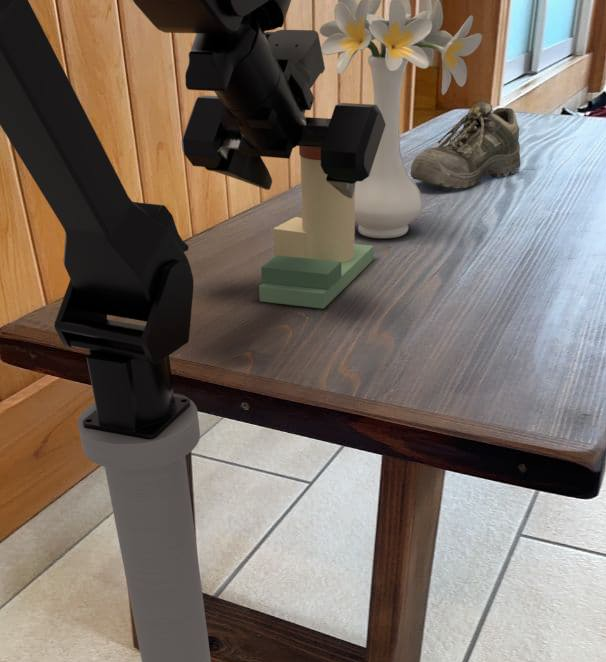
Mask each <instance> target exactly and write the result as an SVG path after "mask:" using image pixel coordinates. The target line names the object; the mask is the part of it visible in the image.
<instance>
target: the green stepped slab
mask: <svg viewBox="0 0 606 662" xmlns="http://www.w3.org/2000/svg"><path fill="white" fill-rule="evenodd" d="M374 247H375V246H374V245H369V244H360V243H359V244H358V243H354V258H353V259H351V260H349V261H347V262H343V263H341V262H338V261H328V260H318V259H308V258H298V257H288V256H278V255H277V256H275V255H274V257H272V258H271V259H269V261H267V262H266V263H265V264H263V265H262V266H261V267H260V269H261V284H260V285H258V293H259V302H263V303H271V304H280V305H289V306H297V307H305V308H313V309H322V310H324V309H325V308H327V306H328V305H329V304H330V303H332V301H333V300H334V299H335V298H337V296H338V295H340V293H341V292H342V291H344V290H345V288H347V286H349V285H350V284H351V283H352V282H353V281H354V280H355V279H356V277H358V275H360V274H361V272H363V271H364V270H365V269H366V268H367V267H368V266H369V265H370V264H371V263H372V262H373V261H374V252H375V251H374Z"/></svg>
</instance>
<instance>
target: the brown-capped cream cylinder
mask: <svg viewBox="0 0 606 662" xmlns="http://www.w3.org/2000/svg"><path fill="white" fill-rule="evenodd" d="M298 154H299V156H300V192H301V195H300V196H301V217H297V216H294V217H292V218H291V219H288V220H287V221H285V222H282V223H281V224H279V225H277V226H275V227H273V230H272V231H273V251H274V257H275V256H277V255H278V256H288V257H298V258H308V259H318V260H328V261H338V262H341V263H343V262H347V261H349V260H351V259H353V258H354V244H355V231H356V230H355V228H356V226H355V224H356V223H355V191H354V194H353V197H352V198H348V197H346V196H344V195H343V194H342V193H340V192H339V191H338V190H337V189H336V188H335V187H333V186H332V185H331V184H330V183H329V182H327V181H326V178H327V174H325V173H324V171H323V169H322V167H321V148H319V147H306V146H298Z"/></svg>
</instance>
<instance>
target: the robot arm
mask: <svg viewBox="0 0 606 662" xmlns="http://www.w3.org/2000/svg"><path fill="white" fill-rule="evenodd" d="M132 2H133V3H134V5H135V6H136V7H137V8H138V9H139V11H141V12H142V13H143V15H144V16H145V17H146V18H147V19H148V20H149V22H150V23H151V24H152V25H153V26H154V27H155V28H156V29H157V30H158V31H161V32H162V33H166V34H195V36H194V39H193V42H192V45H191V48H190V51H189V52H188V66H187V67H186V71H185V74H184V76H185V77H184V78H185V87H186V89H187V90H188V91H204V92H205V91H206V92H214V93H215V95H201V96H198V97H196V99H195V102H194V103H193V106H192V109H191V112H190V115H189V118H188V120H187V123H186V125H185V126H186V127H185V129H184V132H183V134H182V137H181V150H182V153H183V154H184V156H185V157H186V159H187V160H188V161H189V163H190V164H191V165H192V167H198V168H199V167H200V168H204V169H205V170H207V171H208V172H215V173H217V174H221V175H224V176H227V177H230V178H232V179H235V180H238V181H241V182H244V183H247V184H248V185H249V184H250V185H253V186H254V187H258V188H261V189H263V190H265V191H269V190H271V187H272V184H273V178H272V176H271V173H270V171H269V169H268V167H267V165H266V164H265V162H264V159H263V158H276V159H287V160H290V158H291V155H292V152H293V149H294V148H296V147H299V146H306V147H319V148H321V167H322V169H323V171H324V173H325V174H327V178H326V181H327V182H329V183H330V184H331V185H332V186H333V187H335V188H336V189H337V190H338V191H339V192H340V193H342V194H343V195H344V196H346V197H348V198H352V197H353V194H354V191H355V183H356V182H357V181H363V180H364V179H366V178H367V177H369V175H370V172H371V169H372V165H373V162H374V159H375V156H376V153H377V150H378V147H379V144H380V141H381V138H382V135H383V132H384V128H385V125H386V124H385V121H384V119H383V116H382V113H381V111H380V110H379V108H378V106H377V105H374V104H370V103H369V104H368V103H367V104H366V103H354V102H353V103H352V102H351V103H350V102H340V103H337V104H335V106H334V108H333V112H332V115H331V118H326V117H310V116H306V115H305V114H306V111H311V110H312V108H313V104H314V101H315V96H314V94H313V92H312V90H311V89H312V87H313V86H314V85H315V83H316V82H317V80H318V78H319V77H320V75H322V74H323V73H324V72H325V69H326V67H325V62H324V61H325V60H324V54H322V50H321V46H322V44H321V40H320V35H319V32H318V31H316V30H313V29H278V28H283V26H284V23H285V20H286V18H287V15H288V11H289V8H290V5H291V3H292V0H132ZM276 29H278V30H276ZM274 30H275V31H274ZM0 127H1V129H2V130H3V132H4V134H5V135H6V137H7V139H8V141H9V143H10V144H11V145H12V147H13V148H14V150H15V151H16V154H17V155H18V156H19V158H20V160H21V161H22V163H23V164H24V166H25V168H26V169H27V171H28V173H29V174H30V176H31V177H32V179H33V181H34V183H35V184H36V186H37V187H38V189H39V190H40V193H41V194H42V195H43V198H44V199H45V200H46V202H47V203H48V205H49V207H50V208H51V210H52V212H53V213H54V215H55V217H56V218H57V220H58V221H59V223H60V225H61V226H62V229H63V230H64V232H65V233H64V234H65V235H64V246H63V247H64V248H63V259H62V261H63V266H64V269H65V270H66V272H67V274H68V275H67V276H69V281H68V285H67V288H66V290H65V293H64V296H63V299H62V301H61V304H60V307H59V310H58V312H57V316H56V318H55V320H54V324H53V326H54V329H55V331H56V333H57V335H58V337H59V339H60V341H61V343H62V344H63V346H64V347H67V348H72V347H73V348H77V349H83V350H88V351H89V354H88V355H86V362H87V367H88V372H89V377H90V383H91V384H90V385H91V389H92V395H93V400H94V403H95V405H96V410H95V411H94V412H93V413H92V414H90V415H89V416H88V417H87V418H85V419H84V420H83V427H84V428H87V429H93V430H98V431H104V432H109V433H114V434H120V435H125V436H131V437H136V438H142V439H147V440H151V439H155V438H156V437H157V436H158V435H159V434H161V433H162V432H163V431H164V430H165V429H166V428H167V427H168V426H169V425H170V424H171V423H172V422H174V421H175V420H176V419H177V418H178V417H179V416H180V415H181V414H182V413H183V412H184V411H185V410H186V409H188V408H189V407H190V405H191V404H190V400H191V399H190V398H189V399H187V398H182V397H176V396H173V392H175V391H174V384H173V376H172V375H173V374H172V369H171V361H170V356H171V354H173V353H175V352H176V351H178V350H179V349H180V348H182V347H184V346H185V345H187V344H188V343H189V341H190V331H191V319H192V311H193V310H192V309H193V300H194V299H193V296H194V276H193V271H192V268H191V265H190V262H189V259H188V257H187V255H186V253H185V252H188V251H189V244H187V243H186V242H185V241H184V240H183V239H182V237H181V235H180V234H179V231H178V229H177V226H176V223H175V220H174V219H175V218H174V216H173V214H172V213H171V211H170V210H169V209H168V208H167V207H166V205H164V204H158V203H157V204H156V203H149V202H147V203H146V202H139V201H133V200H132V199H131V197H130V196H129V195H128V193H127V191H126V189H125V187H124V185H123V183H122V181H121V179H120V177H119V175H118V173H117V172H116V170H115V167H114V166H113V163H112V162H111V160H110V158H109V156H108V154H107V151H106V150H105V148H104V145H103V144H102V142H101V140H100V138H99V136H98V134H97V132H96V130H95V128H94V127H93V124H92V123H91V121H90V119H89V116H88V115H87V112H86V111H85V109H84V107H83V105H82V103H81V101H80V98H79V96H78V95H77V93H76V91H75V90H74V87H73V85H72V83H71V81H70V80H69V78H68V75H67V73H66V72H65V70H64V68H63V66H62V64H61V62H60V60H59V58H58V56H57V54H56V52H55V50H54V48H53V47H52V44H51V42H50V40H49V38H48V37H47V35H46V33H45V30H44V29H43V27H42V25H41V23H40V21H39V18H38V16H37V15H36V13H35V11H34V9H33V7H32V5H31V2H30V1H29V0H0ZM262 157H263V158H262ZM108 316H111V317H117V318H123V319H130V320H134V321H140V322H144V323H145V322H146V324H145V325H140V324H136V323H129V322H124V321H118V320H113V319H108Z"/></svg>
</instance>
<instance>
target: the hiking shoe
mask: <svg viewBox="0 0 606 662" xmlns="http://www.w3.org/2000/svg"><path fill="white" fill-rule="evenodd" d="M461 127H462V128H461ZM460 128H461V130H460V131H459V129H460ZM444 139H445V140H444ZM519 140H520V127H519V124H518V120H517V116H516V113H515V110H513V108H509V107H498V108H495V110H493V105H492V104H491V103H490V102H487V100H483V101H480V102H478V103H477V102H476V103H474V104H473V105H472V106H471V108H469V110H468V112H467V113H466V114H465V115H464V116H462V118H461V119H460V120H459V121H458V122H457V123H456V124H454V126H453V127H452V128H451V129H450V130H449V131H448V132H447V133H445V135H443V137H440V139H439V140H438V141H437V143H438V144H439V145H438V146H436V147H429V148H427V149H425V150H423V151H422V152H420V153H419V154H418V155H416V156H415V158H414V159H413V161H412V163H411V167H410V173H409V174H410V178H411V179H412V180H416V181H421V182H423V183H427V184H431V185H436V186H440V187H445V188H452V189H467V188H469V187H473V186H476V184H478V183H479V182H480V180H481V178H482V177H483V176H484V175H488V176H491V177H494V178H500V177H501V176H503V177H506V176H509V174H511V175H512V174H515V173H516V172H518V171H517V170H518V169H520V167H521V154H520V151H521V150H520V149H521V144H520V141H519Z"/></svg>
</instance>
